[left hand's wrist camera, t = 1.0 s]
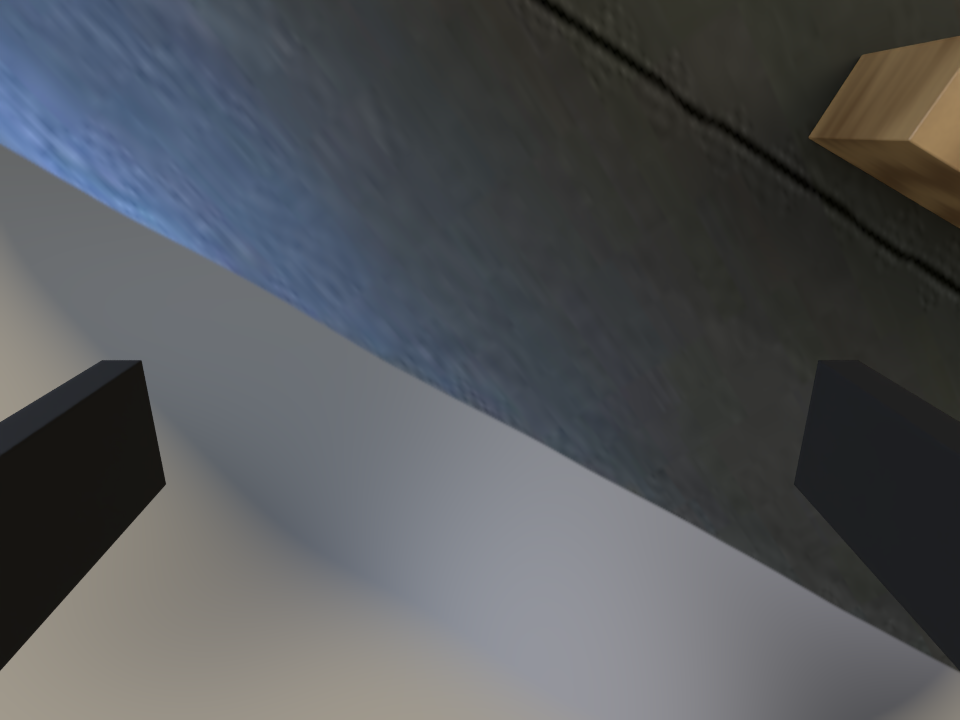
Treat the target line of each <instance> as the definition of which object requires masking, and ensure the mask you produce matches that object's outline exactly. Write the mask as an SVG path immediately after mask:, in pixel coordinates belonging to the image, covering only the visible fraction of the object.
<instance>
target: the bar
mask: <svg viewBox="0 0 960 720" xmlns="http://www.w3.org/2000/svg"><path fill="white" fill-rule="evenodd" d="M809 139H811V140H812V141H814V142H816V143H817V144H819V145H821V146H822V147H824V148H826V149H827V150H829V151H831V152H832V153H834V154H836V155H838V156H839V157H841V158H843V159H844V160H846V161H848V162H849V163H851V164H853V165H854V166H856V167H858V168H859V169H861V170H863V171H864V172H866V173H868V174H869V175H871V176H873V177H874V178H876V179H878V180H879V181H881V182H883V183H884V184H886V185H888V186H889V187H891V188H893V189H894V190H896V191H898V192H899V193H901V194H903V195H904V196H906V197H908V198H909V199H911V200H913V201H914V202H916V203H918V204H919V205H921V206H923V207H924V208H926V209H928V210H929V211H931V212H933V213H934V214H936V215H938V216H939V217H941V218H943V219H945V220H946V221H948V222H950V223H951V224H953V225H955V226H956V227H958V228H960V36H956V37H951V38H946V39H941V40H936V41H930V42H925V43H920V44H915V45H910V46H905V47H900V48H895V49H889V50H884V51H879V52H874V53H869V54H864V55H862V56H861V58H860V59H859V61H858V62H857V64H856V65H855V67H854V68H853V70H852V71H851V73H850V74H849V76H848V77H847V79H846V80H845V82H844V84H843V85H842V87H841V88H840V90H839V91H838V93H837V94H836V96H835V97H834V99H833V100H832V102H831V103H830V105H829V107H828V108H827V110H826V111H825V113H824V114H823V116H822V117H821V119H820V120H819V122H818V123H817V125H816V126H815V128H814V129H813V131H812V133H811V134H810V136H809Z"/></svg>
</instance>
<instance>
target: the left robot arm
mask: <svg viewBox="0 0 960 720" xmlns="http://www.w3.org/2000/svg"><path fill="white" fill-rule="evenodd" d="M165 485H166V482H165V477H164V472H163V467H162V462H161V457H160V452H159V446H158V441H157V436H156V431H155V426H154V421H153V416H152V411H151V406H150V401H149V396H148V391H147V386H146V381H145V376H144V371H143V366H142V361H141V360H102V361H100V362H99V363H97V364H95V365H94V366H92V367H90V368H89V369H87V370H85V371H84V372H82V373H80V374H79V375H77V376H75V377H74V378H72V379H71V380H69V381H67V382H66V383H64V384H62V385H61V386H59V387H57V388H56V389H54V390H52V391H51V392H49V393H47V394H46V395H44V396H43V397H41V398H39V399H38V400H36V401H34V402H33V403H31V404H29V405H28V406H26V407H24V408H23V409H21V410H20V411H18V412H16V413H15V414H13V415H11V416H10V417H8V418H6V419H5V420H3V421H1V422H0V670H1V669H2V668H3V667H4V666H5V665H6V664H7V663H8V661H9V660H10V659H11V658H12V657H13V656H14V655H15V654H16V652H17V651H18V650H19V649H20V648H21V647H22V646H23V645H24V643H25V642H26V641H27V640H28V639H29V638H30V637H31V636H32V634H33V633H34V632H35V631H36V630H37V629H38V628H39V627H40V625H41V624H42V623H43V622H44V621H45V620H46V619H47V618H48V616H49V615H50V614H51V613H52V612H53V611H54V610H55V609H56V607H57V606H58V605H59V604H60V603H61V602H62V601H63V599H64V598H65V597H66V596H67V595H68V594H69V593H70V592H71V591H72V589H73V588H74V587H75V586H76V585H77V584H78V583H79V582H80V580H81V579H82V578H83V577H84V576H85V575H86V574H87V573H88V571H89V570H90V569H91V568H92V567H93V566H94V565H95V564H96V562H97V561H98V560H99V559H100V558H101V557H102V556H103V555H104V553H105V552H106V551H107V550H108V549H109V548H110V547H111V546H112V544H113V543H114V542H115V541H116V540H117V539H118V538H119V537H120V535H121V534H122V533H123V532H124V531H125V530H126V529H127V528H128V526H129V525H130V524H131V523H132V522H133V521H134V520H135V519H136V517H137V516H138V515H139V514H140V513H141V512H142V511H143V510H144V508H145V507H146V506H147V505H148V504H149V503H150V502H151V501H152V499H153V498H154V497H155V496H156V495H157V494H158V493H159V492H160V490H161V489H162V488H163V487H164V486H165ZM794 485H795V486H796V487H797V488H798V489H799V490H800V492H801V493H802V494H803V495H804V496H805V497H806V498H807V499H808V501H809V502H810V503H811V504H812V505H813V506H814V507H815V508H816V510H817V511H818V512H819V513H820V514H821V515H822V516H823V517H824V519H825V520H826V521H827V522H828V523H829V524H830V525H831V526H832V528H833V529H834V530H835V531H836V532H837V533H838V534H839V535H840V537H841V538H842V539H843V540H844V541H845V542H846V543H847V544H848V546H849V547H850V548H851V549H852V550H853V551H854V552H855V553H856V555H857V556H858V557H859V558H860V559H861V560H862V561H863V562H864V564H865V565H866V566H867V567H868V568H869V569H870V570H871V571H872V573H873V574H874V575H875V576H876V577H877V578H878V579H879V580H880V582H881V583H882V584H883V585H884V586H885V587H886V588H887V589H888V591H889V592H890V593H891V594H892V595H893V596H894V597H895V598H896V600H897V601H898V602H899V603H900V604H901V605H902V606H903V607H904V609H905V610H906V611H907V612H908V613H909V614H910V615H911V616H912V618H913V619H914V620H915V621H916V622H917V623H918V624H919V625H920V627H921V628H922V629H923V630H924V631H925V632H926V633H927V634H928V636H929V637H930V638H931V639H932V640H933V641H934V642H935V643H936V645H937V646H938V647H939V648H940V649H941V650H942V651H943V652H944V654H945V655H946V656H947V657H948V658H949V659H950V660H951V661H952V663H953V664H954V665H955V666H956V667H957V668H958V669H959V670H960V422H959V421H957V420H955V419H954V418H952V417H950V416H949V415H947V414H945V413H944V412H942V411H941V410H939V409H937V408H936V407H934V406H932V405H931V404H929V403H927V402H926V401H924V400H922V399H921V398H919V397H917V396H916V395H914V394H913V393H911V392H909V391H908V390H906V389H904V388H903V387H901V386H899V385H898V384H896V383H894V382H893V381H891V380H889V379H888V378H886V377H885V376H883V375H881V374H880V373H878V372H876V371H875V370H873V369H871V368H870V367H868V366H866V365H865V364H863V363H861V362H860V361H858V360H819V361H818V366H817V371H816V376H815V381H814V386H813V391H812V396H811V401H810V406H809V411H808V416H807V421H806V426H805V431H804V436H803V441H802V446H801V451H800V457H799V462H798V467H797V472H796V477H795V482H794Z"/></svg>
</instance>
